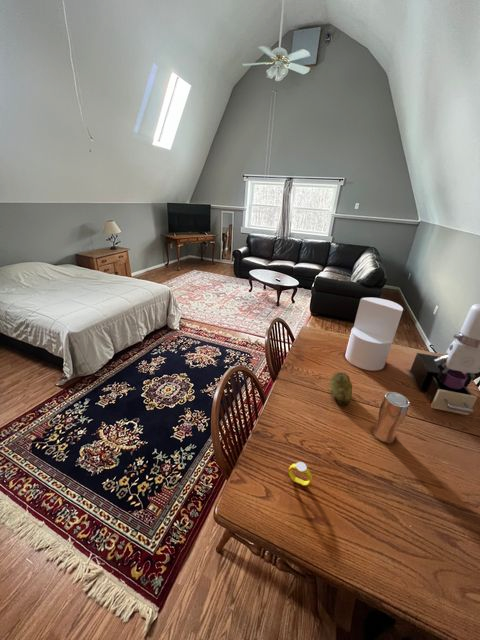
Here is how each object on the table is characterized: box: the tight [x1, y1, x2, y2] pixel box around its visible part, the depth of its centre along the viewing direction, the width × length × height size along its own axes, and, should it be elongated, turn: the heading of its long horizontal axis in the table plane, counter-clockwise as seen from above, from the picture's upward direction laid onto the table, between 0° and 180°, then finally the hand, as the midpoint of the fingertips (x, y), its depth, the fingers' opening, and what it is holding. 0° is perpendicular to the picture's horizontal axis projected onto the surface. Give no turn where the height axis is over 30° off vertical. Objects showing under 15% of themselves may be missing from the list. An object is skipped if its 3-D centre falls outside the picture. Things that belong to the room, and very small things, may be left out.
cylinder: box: [345, 297, 404, 371], centre depth 120 cm, size 17×17×28 cm
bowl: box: [443, 369, 468, 389], centre depth 97 cm, size 7×7×5 cm
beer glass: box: [372, 391, 411, 444], centre depth 83 cm, size 7×7×15 cm
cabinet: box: [409, 352, 444, 393], centre depth 110 cm, size 14×13×10 cm
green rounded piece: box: [330, 371, 353, 407], centre depth 100 cm, size 8×13×8 cm, turn 155°
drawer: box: [424, 374, 478, 416], centre depth 98 cm, size 18×11×8 cm, turn 164°
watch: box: [287, 461, 313, 487], centre depth 70 cm, size 6×3×6 cm, turn 61°
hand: (452, 382), depth 98 cm, fingers closed on bowl, 6 cm apart
